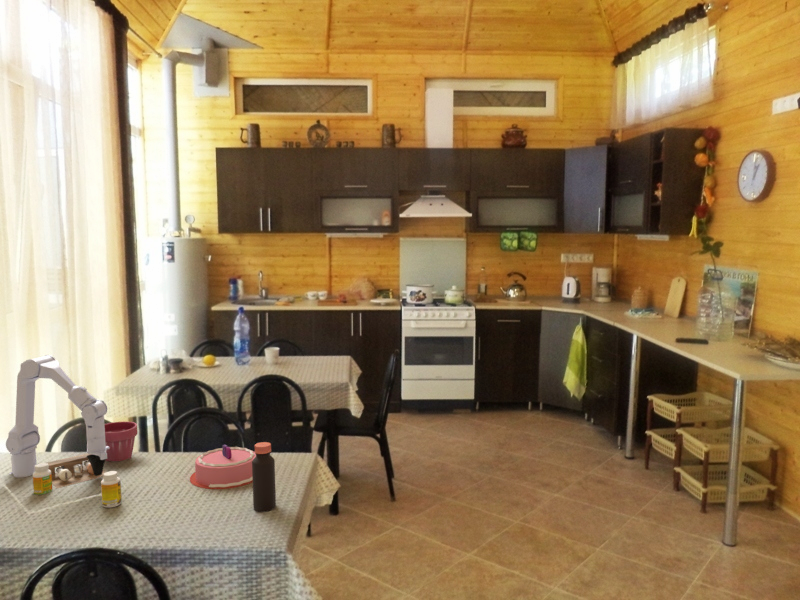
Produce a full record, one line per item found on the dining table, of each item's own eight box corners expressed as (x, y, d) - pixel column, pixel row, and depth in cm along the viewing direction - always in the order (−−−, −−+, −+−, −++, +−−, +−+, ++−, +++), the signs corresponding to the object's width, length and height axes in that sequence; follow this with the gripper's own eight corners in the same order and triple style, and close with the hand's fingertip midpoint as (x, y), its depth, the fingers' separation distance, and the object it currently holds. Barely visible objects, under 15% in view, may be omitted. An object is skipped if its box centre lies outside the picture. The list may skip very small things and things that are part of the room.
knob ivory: (53, 475, 220) (52, 465, 220) (64, 473, 223) (64, 463, 223) (60, 482, 214) (60, 472, 214) (72, 479, 217) (71, 469, 216)
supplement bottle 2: (122, 506, 197) (120, 474, 196) (102, 509, 195) (100, 477, 194) (121, 499, 202) (119, 468, 201) (102, 503, 200) (100, 471, 199)
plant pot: (138, 462, 237) (137, 429, 235) (97, 468, 231) (95, 433, 230) (138, 451, 250) (137, 419, 248) (99, 456, 244) (97, 423, 243)
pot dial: (73, 476, 220) (72, 465, 220) (81, 474, 222) (80, 463, 222) (75, 478, 219) (74, 466, 218) (83, 476, 220) (83, 465, 220)
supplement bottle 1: (44, 497, 205) (42, 468, 204) (29, 496, 206) (27, 467, 205) (56, 491, 210) (54, 462, 209) (42, 489, 211) (40, 461, 210)
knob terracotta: (81, 469, 227) (80, 459, 226) (91, 466, 229) (91, 457, 229) (89, 475, 220) (88, 465, 220) (99, 472, 223) (99, 462, 222)
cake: (274, 479, 219) (273, 449, 218) (202, 496, 205) (201, 464, 204) (247, 459, 240) (247, 431, 239) (180, 473, 226) (179, 444, 225)
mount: (43, 477, 222) (42, 462, 221) (94, 465, 234) (93, 451, 233) (57, 490, 210) (55, 474, 210) (110, 477, 222) (109, 461, 221)
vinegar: (256, 514, 190) (254, 449, 189) (251, 505, 196) (248, 443, 195) (278, 509, 194) (276, 445, 192) (272, 501, 200) (270, 439, 198)
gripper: (115, 438, 215) (117, 477, 216) (100, 429, 226) (102, 466, 227) (93, 443, 210) (95, 482, 211) (79, 434, 221) (81, 471, 222)
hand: (98, 474), depth 219 cm, fingers closed
